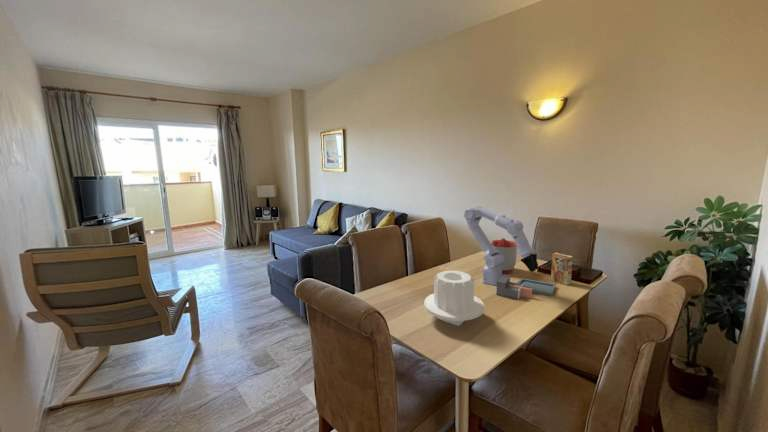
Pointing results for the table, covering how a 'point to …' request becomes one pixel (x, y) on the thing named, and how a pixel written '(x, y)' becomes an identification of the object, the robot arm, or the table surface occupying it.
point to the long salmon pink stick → (524, 291)
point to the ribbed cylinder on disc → (454, 298)
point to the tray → (538, 286)
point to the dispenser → (508, 288)
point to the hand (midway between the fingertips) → (534, 270)
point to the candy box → (561, 268)
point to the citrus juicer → (506, 253)
